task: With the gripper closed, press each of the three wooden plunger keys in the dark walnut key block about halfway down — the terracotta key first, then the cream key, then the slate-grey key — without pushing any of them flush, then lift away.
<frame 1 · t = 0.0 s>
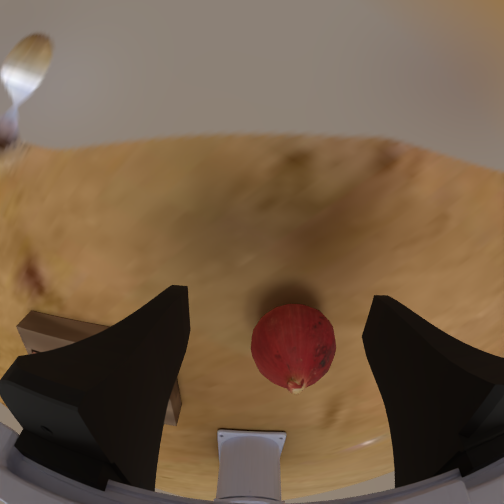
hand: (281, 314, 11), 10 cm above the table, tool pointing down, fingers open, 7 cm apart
terracotta key: (47, 377, 22), point 4 cm above the table, slide at 0.0 cm
pomegranate: (289, 313, 23), on the table
key block: (102, 361, 26), on the table
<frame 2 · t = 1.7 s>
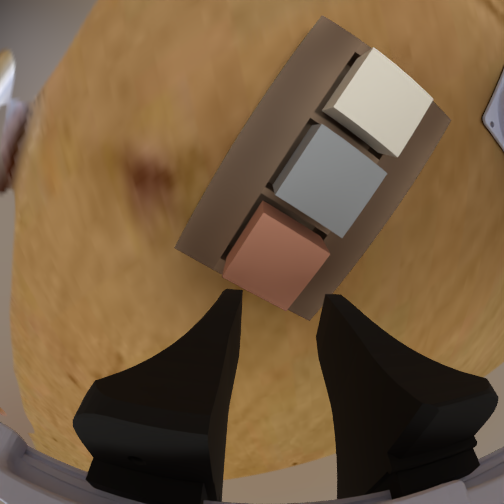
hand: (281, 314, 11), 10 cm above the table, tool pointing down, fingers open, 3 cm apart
slate key: (327, 178, 14), point 4 cm above the table, slide at 0.0 cm
terracotta key: (274, 255, 16), point 4 cm above the table, slide at 0.0 cm
key block: (312, 168, 18), on the table
cream key: (377, 102, 13), point 4 cm above the table, slide at 0.0 cm
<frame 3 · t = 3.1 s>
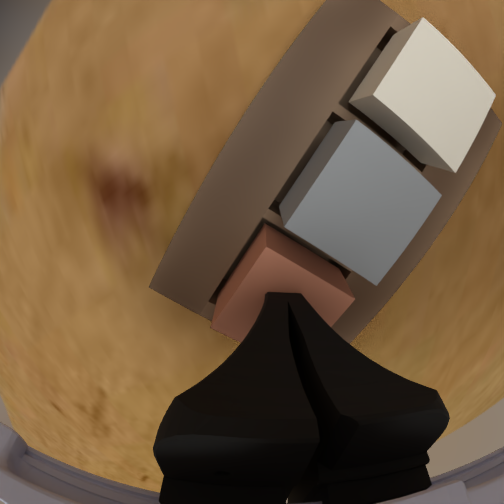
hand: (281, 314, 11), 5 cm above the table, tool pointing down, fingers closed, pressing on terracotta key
slate key: (358, 199, 10), point 4 cm above the table, slide at 0.0 cm
terracotta key: (280, 297, 12), point 4 cm above the table, slide at 0.5 cm, touching gripper
key block: (330, 180, 14), on the table
cream key: (425, 94, 8), point 4 cm above the table, slide at 0.0 cm
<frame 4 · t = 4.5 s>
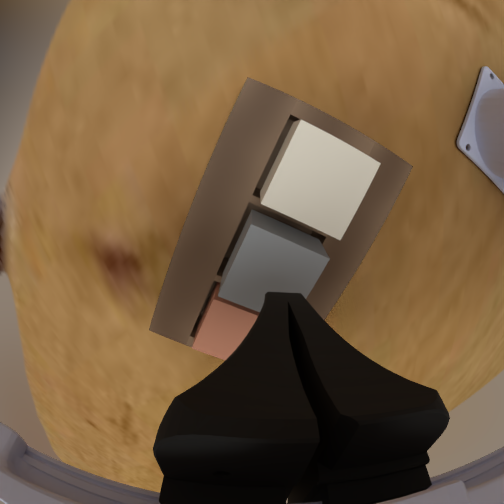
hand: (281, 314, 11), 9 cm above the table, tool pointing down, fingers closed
slate key: (271, 266, 15), point 4 cm above the table, slide at 0.0 cm
terracotta key: (235, 324, 18), point 3 cm above the table, slide at 1.2 cm
key block: (268, 237, 19), on the table
cream key: (317, 177, 13), point 4 cm above the table, slide at 0.0 cm
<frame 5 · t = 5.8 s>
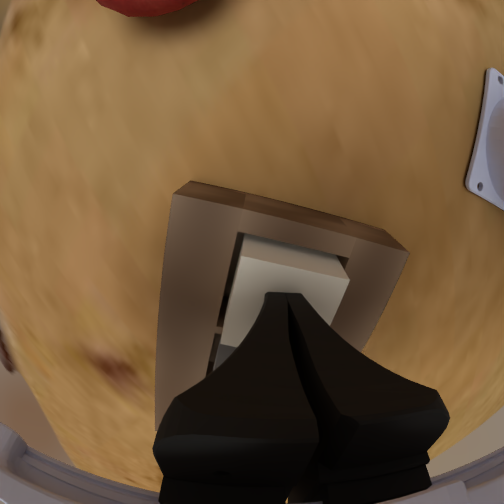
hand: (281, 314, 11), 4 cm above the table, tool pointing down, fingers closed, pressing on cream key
slate key: (251, 393, 13), point 4 cm above the table, slide at 0.0 cm
key block: (253, 338, 17), on the table
cream key: (280, 297, 12), point 3 cm above the table, slide at 1.1 cm, touching gripper
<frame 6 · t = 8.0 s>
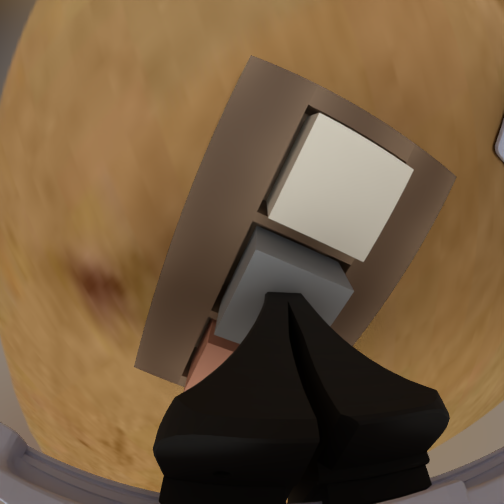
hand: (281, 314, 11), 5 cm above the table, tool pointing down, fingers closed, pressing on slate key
slate key: (280, 297, 12), point 4 cm above the table, slide at 0.7 cm, touching gripper
terracotta key: (235, 365, 14), point 3 cm above the table, slide at 1.2 cm
key block: (276, 260, 15), on the table
cream key: (336, 184, 11), point 3 cm above the table, slide at 1.2 cm
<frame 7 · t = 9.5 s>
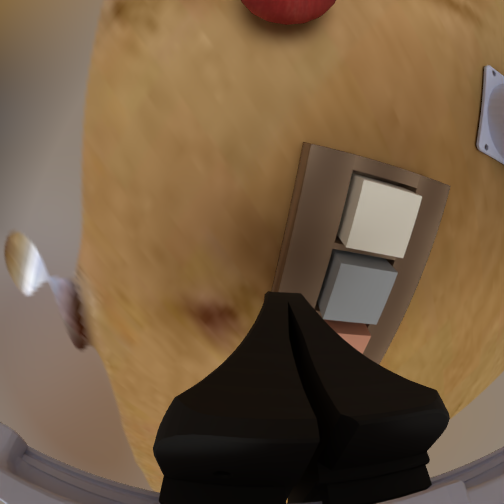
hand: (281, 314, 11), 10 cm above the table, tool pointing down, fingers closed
slate key: (355, 286, 19), point 3 cm above the table, slide at 1.2 cm
terracotta key: (333, 344, 21), point 3 cm above the table, slide at 1.2 cm
pomegranate: (282, 6, 14), on the table
key block: (343, 266, 22), on the table
cream key: (377, 215, 17), point 3 cm above the table, slide at 1.2 cm
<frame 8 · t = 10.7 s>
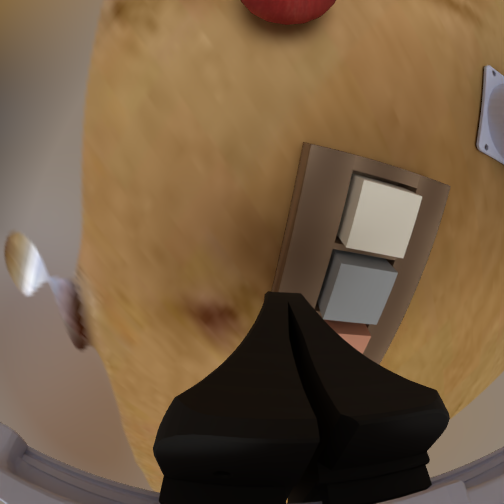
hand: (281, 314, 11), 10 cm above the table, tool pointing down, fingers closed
slate key: (355, 286, 19), point 3 cm above the table, slide at 1.2 cm
terracotta key: (333, 344, 21), point 3 cm above the table, slide at 1.2 cm
pomegranate: (281, 6, 14), on the table
key block: (343, 266, 22), on the table
cream key: (377, 215, 17), point 3 cm above the table, slide at 1.2 cm
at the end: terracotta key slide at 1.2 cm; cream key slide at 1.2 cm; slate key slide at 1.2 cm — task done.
